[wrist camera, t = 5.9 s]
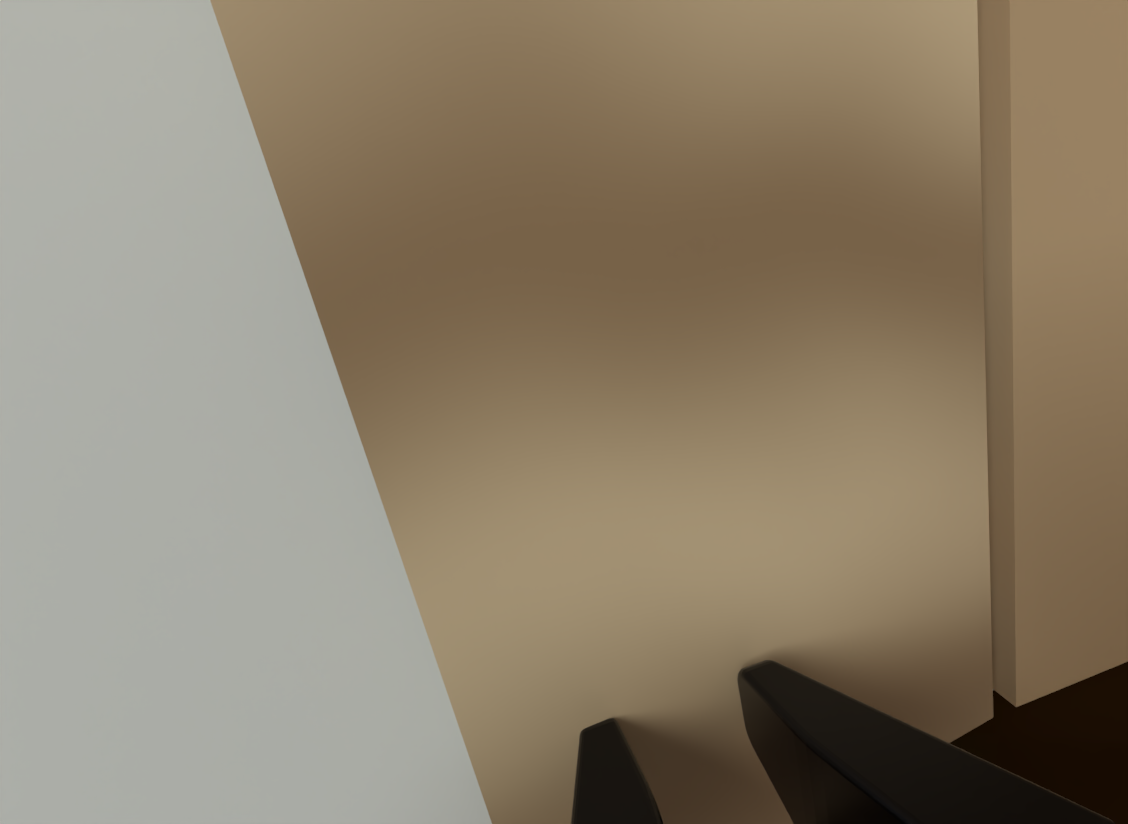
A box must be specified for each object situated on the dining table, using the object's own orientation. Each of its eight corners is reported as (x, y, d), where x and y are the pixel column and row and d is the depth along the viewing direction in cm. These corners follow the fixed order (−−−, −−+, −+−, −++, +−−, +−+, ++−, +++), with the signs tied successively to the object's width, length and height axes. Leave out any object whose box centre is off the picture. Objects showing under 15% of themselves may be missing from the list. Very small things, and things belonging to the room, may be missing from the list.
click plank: (935, 676, 11) (993, 717, 10) (519, 901, 9) (544, 978, 8) (865, -545, 6) (961, -678, 5) (-3, -628, 4) (-84, -857, 3)
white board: (1229, 543, 13) (1370, 597, 11) (138, 967, 10) (77, 1141, 8) (1349, -574, 8) (1636, -812, 6) (-741, -444, 5) (-1425, -844, 3)
